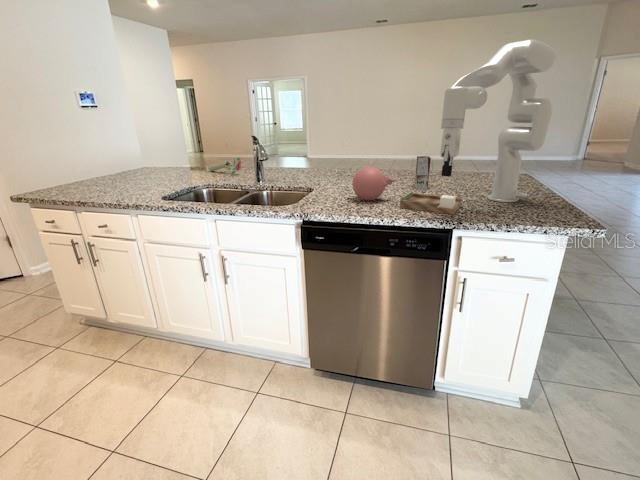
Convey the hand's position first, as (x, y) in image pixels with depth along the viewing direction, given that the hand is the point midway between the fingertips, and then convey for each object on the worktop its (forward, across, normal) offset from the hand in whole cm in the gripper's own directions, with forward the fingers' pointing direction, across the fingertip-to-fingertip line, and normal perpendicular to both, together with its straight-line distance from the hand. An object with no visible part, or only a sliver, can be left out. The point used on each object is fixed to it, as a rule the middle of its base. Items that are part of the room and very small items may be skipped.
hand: (446, 175), depth 127 cm
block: (+14, +8, 0) cm, 16 cm away
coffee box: (+15, +49, +22) cm, 56 cm away
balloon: (+16, +12, +34) cm, 39 cm away
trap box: (+16, +12, +7) cm, 21 cm away
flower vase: (+16, +37, +156) cm, 161 cm away
